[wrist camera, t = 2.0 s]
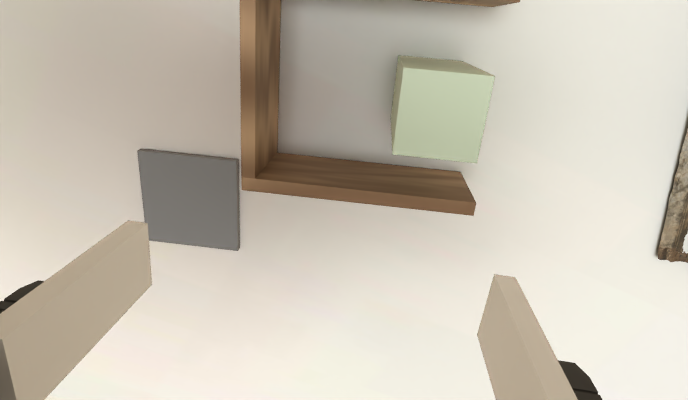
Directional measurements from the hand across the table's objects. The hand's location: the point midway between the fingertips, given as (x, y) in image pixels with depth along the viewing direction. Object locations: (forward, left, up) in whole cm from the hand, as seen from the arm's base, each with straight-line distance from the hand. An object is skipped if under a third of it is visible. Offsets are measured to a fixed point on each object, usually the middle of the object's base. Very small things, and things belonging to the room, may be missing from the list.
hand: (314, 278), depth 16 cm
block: (-5, +5, -22) cm, 23 cm away
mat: (+7, -15, -22) cm, 28 cm away
